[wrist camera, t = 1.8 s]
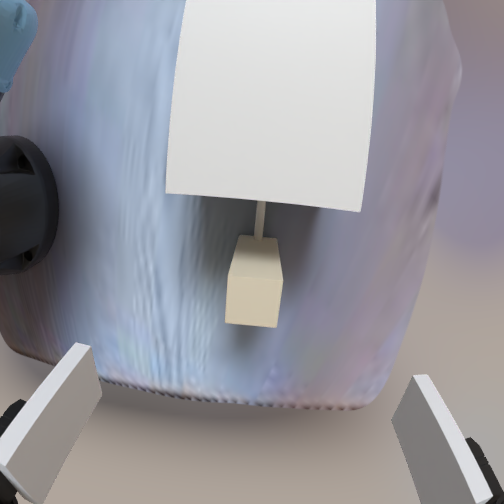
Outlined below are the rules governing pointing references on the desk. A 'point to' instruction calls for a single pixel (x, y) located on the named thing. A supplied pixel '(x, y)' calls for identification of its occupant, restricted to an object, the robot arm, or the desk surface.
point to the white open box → (274, 101)
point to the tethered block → (255, 278)
